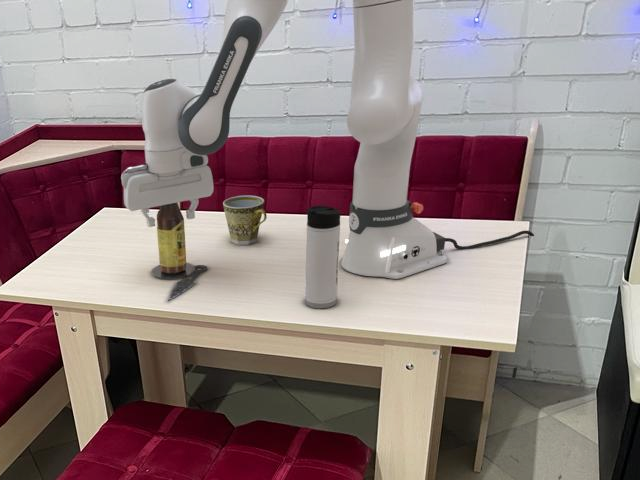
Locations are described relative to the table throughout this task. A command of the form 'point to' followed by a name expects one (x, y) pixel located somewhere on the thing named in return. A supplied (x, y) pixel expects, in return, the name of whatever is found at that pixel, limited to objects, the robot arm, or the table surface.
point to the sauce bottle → (171, 239)
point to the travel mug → (322, 256)
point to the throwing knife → (187, 281)
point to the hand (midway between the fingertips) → (171, 222)
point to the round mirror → (161, 275)
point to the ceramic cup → (244, 218)
